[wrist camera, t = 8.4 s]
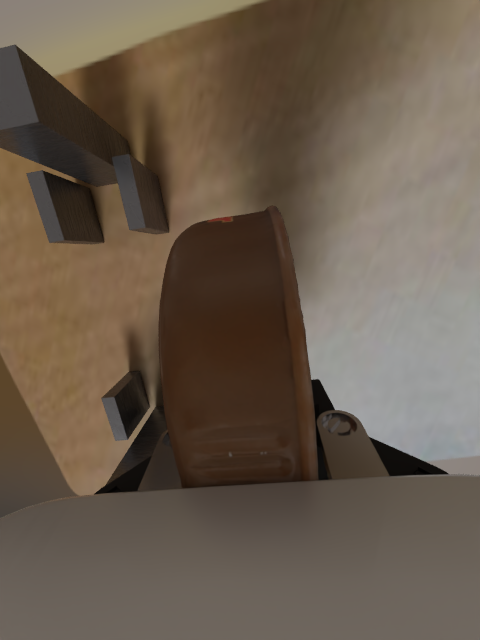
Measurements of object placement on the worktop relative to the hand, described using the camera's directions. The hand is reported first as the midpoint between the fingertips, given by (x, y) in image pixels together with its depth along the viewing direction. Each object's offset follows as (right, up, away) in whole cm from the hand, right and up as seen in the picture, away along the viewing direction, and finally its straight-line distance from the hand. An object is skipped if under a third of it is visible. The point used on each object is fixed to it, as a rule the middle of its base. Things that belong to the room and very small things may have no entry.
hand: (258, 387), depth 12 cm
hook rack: (-9, +4, +8) cm, 12 cm away
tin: (0, 0, +1) cm, 1 cm away
